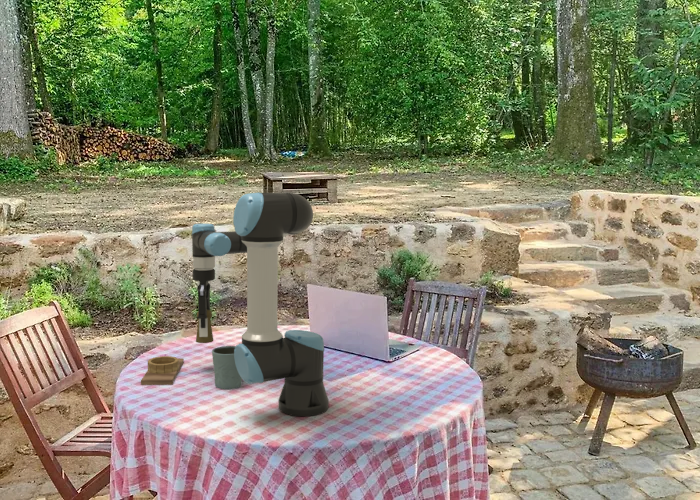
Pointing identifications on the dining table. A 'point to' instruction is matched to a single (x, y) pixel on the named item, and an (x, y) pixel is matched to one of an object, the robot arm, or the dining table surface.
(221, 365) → the grey green cup
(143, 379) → the board
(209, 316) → the cork
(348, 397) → the dining table surface
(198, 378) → the dining table surface
